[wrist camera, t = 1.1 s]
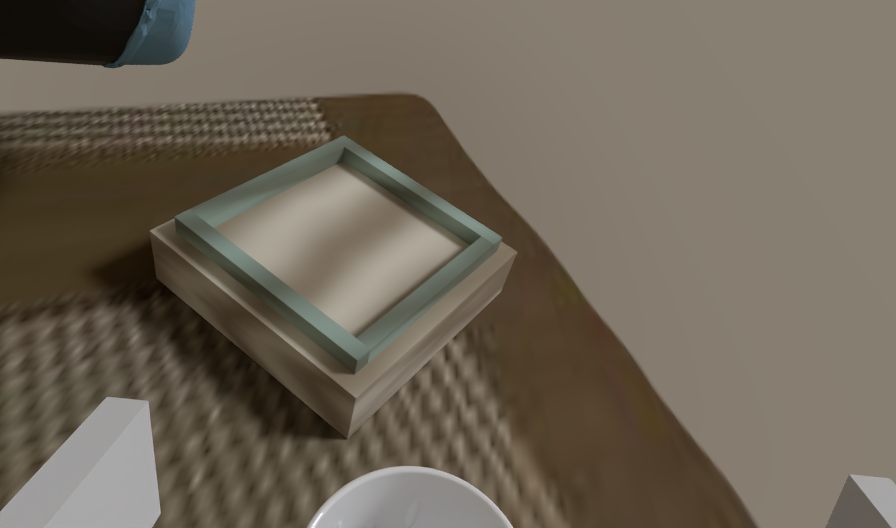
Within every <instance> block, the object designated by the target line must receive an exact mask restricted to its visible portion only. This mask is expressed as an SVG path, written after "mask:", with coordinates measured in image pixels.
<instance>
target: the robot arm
mask: <svg viewBox="0 0 896 528" xmlns="http://www.w3.org/2000/svg"><path fill="white" fill-rule="evenodd" d="M194 10H195V0H0V59H15V60H29V61H45V62H58V63H73V64H88V65H102V66H104V67H108V68H117V67H121V66H123V65H162V64H167V63H170V62H173V61H175V60H176V59H177V58H179V57H180V56H181V55H182V53H183V52H184V51H185V49H186V47H187V45H188V42H189V39H190V35H191V31H192V25H193V18H194ZM160 514H161V512H160V503H159V494H158V485H157V476H156V467H155V458H154V449H153V440H152V431H151V422H150V413H149V404H148V401H143V400H133V399H124V398H114V397H107V398H106V399H105V400H104V401H103V402H102V403H101V404H100V405H99V406H98V407H97V408H96V409H95V410H94V411H93V413H92V414H91V415H90V416H89V417H88V418H87V419H86V420H85V421H84V422H83V423H82V424H81V425H80V426H79V428H78V429H77V430H76V431H75V432H74V433H73V434H72V435H71V436H70V437H69V438H68V439H67V440H66V442H65V443H64V444H63V445H62V446H61V447H60V448H59V449H58V450H57V451H56V452H55V453H54V454H53V455H52V457H51V458H50V459H49V460H48V461H47V462H46V463H45V464H44V465H43V466H42V467H41V468H40V469H39V470H38V472H37V473H36V474H35V475H34V476H33V477H32V478H31V479H30V480H29V481H28V482H27V483H26V484H25V485H24V487H23V488H22V489H21V490H20V491H19V492H18V493H17V494H16V495H15V496H14V497H13V498H12V499H11V501H10V502H9V503H8V504H7V505H6V506H5V507H4V508H3V509H2V510H1V511H0V528H152V527H153V525H154V524H155V522H156V520H157V519H158V517H159V515H160ZM826 528H896V485H895V484H894V483H893V481H892V480H891V479H889V478H880V477H870V476H860V475H851V474H850V475H849V476H848V478H847V480H846V483H845V485H844V487H843V489H842V492H841V494H840V496H839V499H838V501H837V503H836V505H835V507H834V510H833V512H832V514H831V516H830V519H829V521H828V523H827V526H826Z"/></svg>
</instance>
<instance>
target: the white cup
mask: <svg viewBox="0 0 896 528" xmlns="http://www.w3.org/2000/svg"><path fill="white" fill-rule="evenodd" d="M306 528H513V527H512V525H511V524H510V522H509V521H508V519H507V518H506V517H505V515H504V514H503V513H502V512H501V510H500V509H499V508H498V507H497V506H496V505H495V504H494V503H493V502H492V501H491V500H490V499H489V498H488V497H487V496H486V495H484V494H483V493H482V492H481V491H479V490H478V489H477V488H475V487H474V486H472V485H471V484H469V483H467V482H466V481H464V480H462V479H460V478H458V477H456V476H453V475H451V474H448V473H446V472H443V471H439V470H436V469H431V468H426V467H418V466H398V467H390V468H385V469H380V470H377V471H373V472H371V473H368V474H365V475H363V476H361V477H359V478H357V479H355V480H353V481H351V482H350V483H348V484H346V485H345V486H343V487H342V488H341V489H339V490H338V491H337V492H336V493H334V494H333V495H332V496H331V497H330V498H329V499H328V500H327V501H326V502H325V503H324V504H323V505H322V506H321V507H320V508H319V510H318V511H317V512H316V514H315V515H314V516H313V518H312V519H311V521H310V522H309V524H308V526H307V527H306Z"/></svg>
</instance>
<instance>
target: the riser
mask: <svg viewBox="0 0 896 528" xmlns="http://www.w3.org/2000/svg"><path fill="white" fill-rule="evenodd" d="M150 237H151V244H152V251H153V258H154V264H155V271H156V278H157V279H158V280H159V281H160V282H161V283H163V284H164V285H165V286H166V287H167V288H169V289H170V290H171V291H172V292H173V293H175V294H176V295H177V296H178V297H179V298H180V299H182V300H183V301H184V302H185V303H186V304H188V305H189V306H190V307H191V308H192V309H194V310H195V311H196V312H197V313H198V314H199V315H201V316H202V317H203V318H204V319H205V320H207V321H208V322H209V323H210V324H211V325H212V326H214V327H215V328H216V329H217V330H218V331H220V332H221V333H222V334H223V335H224V336H226V337H227V338H228V339H229V340H230V341H231V342H233V343H234V344H235V345H236V346H237V347H239V348H240V349H241V350H242V351H243V352H245V353H246V354H247V355H248V356H249V357H250V358H252V359H253V360H254V361H255V362H256V363H258V364H259V365H260V366H261V367H262V368H263V369H265V370H266V371H267V372H268V373H269V374H271V375H272V376H273V377H274V378H275V379H277V380H278V381H279V382H280V383H281V384H282V385H284V386H285V387H286V388H287V389H288V390H290V391H291V392H292V393H293V394H294V395H295V396H297V397H298V398H299V399H300V400H301V401H303V402H304V403H305V404H306V405H307V406H309V407H310V408H311V409H312V410H313V411H314V412H316V413H317V414H318V415H319V416H320V417H322V418H323V419H324V420H325V421H326V422H328V423H329V424H330V425H331V426H332V427H333V428H335V429H336V430H337V431H338V432H339V433H341V434H342V435H343V436H344V437H345V438H346V439H348V438H349V437H350V436H351V435H352V434H353V433H354V432H355V431H356V430H357V429H358V428H360V427H361V426H362V425H363V424H364V423H365V422H366V421H367V420H368V419H369V418H370V417H371V416H372V415H373V414H374V413H375V412H376V411H377V410H378V409H379V408H380V407H381V406H382V405H383V404H385V403H386V402H387V401H388V400H389V399H390V398H391V397H392V396H393V395H394V394H395V393H396V392H397V391H398V390H399V389H400V388H401V387H402V386H403V385H404V384H405V383H406V382H407V381H408V380H410V379H411V378H412V377H413V376H414V375H415V374H416V373H417V372H418V371H419V370H420V369H421V368H422V367H423V366H424V365H425V364H426V363H427V362H428V361H429V360H430V359H431V358H432V357H433V356H435V355H436V354H437V353H438V352H439V351H440V350H441V349H442V348H443V347H444V346H445V345H446V344H447V343H448V342H449V341H450V340H451V339H452V338H453V337H454V336H455V335H456V334H457V333H458V332H460V331H461V330H462V329H463V328H464V327H465V326H466V325H467V324H468V323H469V322H470V321H471V320H472V319H473V318H474V317H475V316H476V315H477V314H478V313H479V312H480V311H481V310H482V309H483V308H485V307H486V306H487V305H488V304H489V303H490V302H491V301H492V300H493V299H494V298H495V297H496V296H497V295H498V294H499V293H500V292H501V290H502V288H503V285H504V283H505V280H506V278H507V276H508V273H509V271H510V268H511V266H512V263H513V261H514V259H515V256H516V254H517V251H515V250H513V249H512V248H510V247H509V246H507V245H506V244H504V243H503V242H501V240H502V237H501V236H499V235H498V234H496V233H494V232H493V231H491V230H490V229H488V228H487V227H485V226H484V225H482V224H480V223H479V222H477V221H476V220H474V219H473V218H471V217H470V216H468V215H466V214H465V213H463V212H462V211H460V210H459V209H457V208H456V207H454V206H453V205H451V204H449V203H448V202H446V201H445V200H443V199H442V198H440V197H439V196H437V195H435V194H434V193H432V192H431V191H429V190H428V189H426V188H425V187H423V186H421V185H420V184H418V183H417V182H415V181H414V180H412V179H411V178H409V177H408V176H406V175H404V174H403V173H401V172H400V171H398V170H397V169H395V168H394V167H392V166H390V165H389V164H387V163H386V162H384V161H383V160H381V159H380V158H378V157H376V156H375V155H373V154H372V153H370V152H369V151H367V150H366V149H364V148H363V147H361V146H359V145H358V144H356V143H355V142H353V141H352V140H350V139H349V138H347V137H345V136H342V137H340V138H338V139H336V140H334V141H332V142H330V143H327V144H325V145H323V146H321V147H319V148H317V149H315V150H313V151H311V152H309V153H307V154H304V155H302V156H300V157H298V158H296V159H294V160H292V161H290V162H288V163H286V164H283V165H281V166H279V167H277V168H275V169H273V170H271V171H269V172H267V173H265V174H263V175H260V176H258V177H256V178H254V179H252V180H250V181H248V182H246V183H244V184H242V185H240V186H237V187H235V188H233V189H231V190H229V191H227V192H225V193H223V194H221V195H219V196H217V197H214V198H212V199H210V200H208V201H206V202H204V203H202V204H200V205H198V206H196V207H194V208H191V209H189V210H187V211H185V212H183V213H181V214H179V215H177V216H175V219H173V220H171V221H169V222H167V223H164V224H162V225H160V226H158V227H156V228H154V229H152V230H150Z"/></svg>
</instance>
